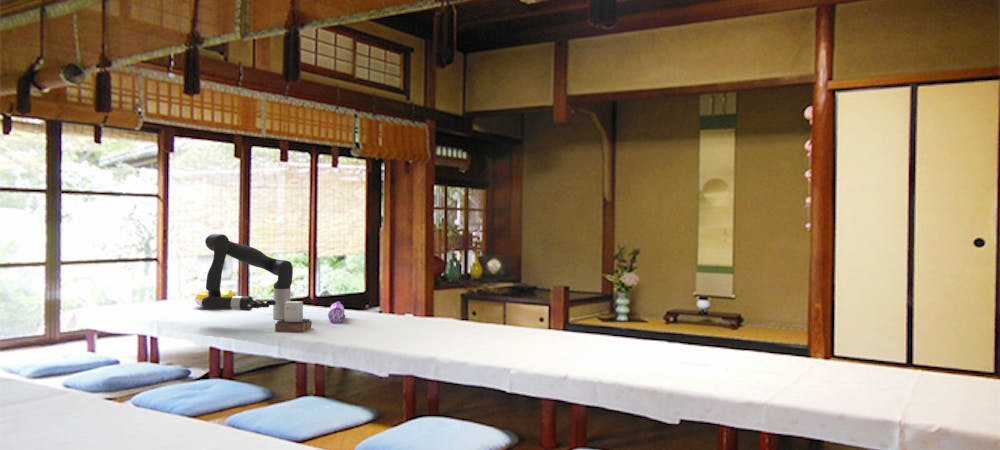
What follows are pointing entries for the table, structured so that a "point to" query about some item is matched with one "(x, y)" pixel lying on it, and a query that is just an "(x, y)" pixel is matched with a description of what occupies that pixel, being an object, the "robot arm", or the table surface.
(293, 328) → the brown wooden tray
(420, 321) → the table surface
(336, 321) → the pencil case
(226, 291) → the fruit bowl
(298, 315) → the small box
